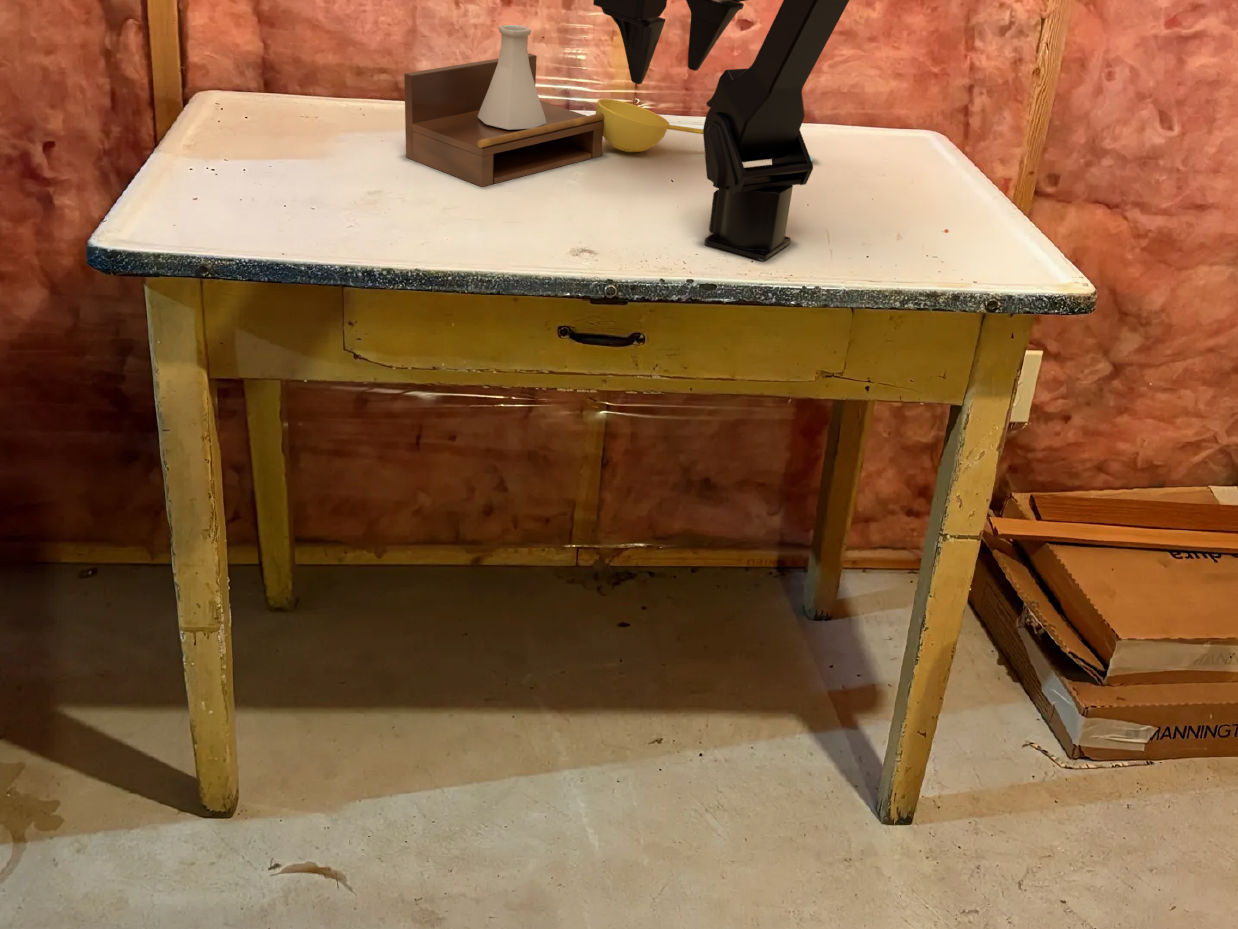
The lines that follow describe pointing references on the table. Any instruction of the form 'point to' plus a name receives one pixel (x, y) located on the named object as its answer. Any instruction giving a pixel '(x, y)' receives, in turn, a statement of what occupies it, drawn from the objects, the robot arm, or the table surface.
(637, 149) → the ladle
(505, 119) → the flask
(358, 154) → the table surface
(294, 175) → the table surface
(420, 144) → the spice rack
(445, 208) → the table surface
